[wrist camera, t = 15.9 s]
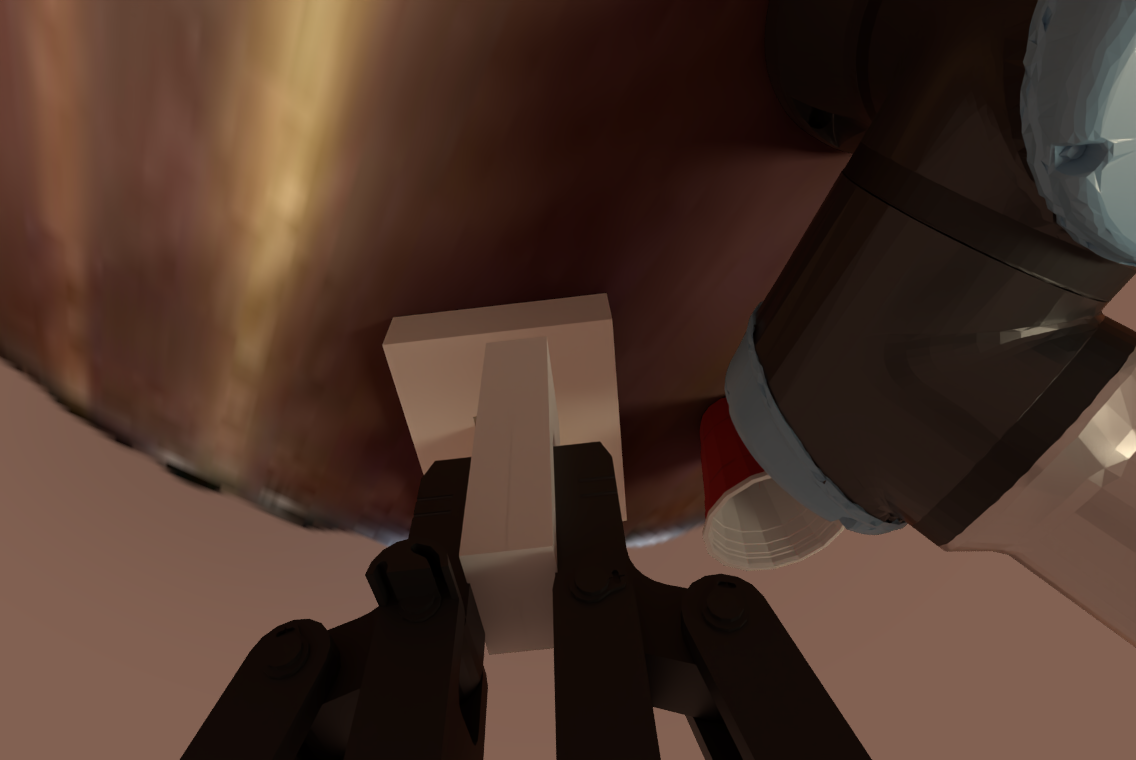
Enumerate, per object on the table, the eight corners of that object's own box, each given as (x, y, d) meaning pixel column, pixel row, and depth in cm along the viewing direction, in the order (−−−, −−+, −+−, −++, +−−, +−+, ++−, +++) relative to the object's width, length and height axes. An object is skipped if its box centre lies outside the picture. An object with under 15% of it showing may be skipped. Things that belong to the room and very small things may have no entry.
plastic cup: (734, 486, 58) (775, 595, 48) (646, 434, 54) (671, 542, 44) (824, 409, 53) (891, 513, 43) (735, 346, 49) (786, 445, 39)
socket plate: (606, 293, 46) (612, 319, 43) (621, 488, 57) (626, 520, 54) (393, 317, 46) (382, 345, 43) (449, 506, 58) (444, 540, 54)
